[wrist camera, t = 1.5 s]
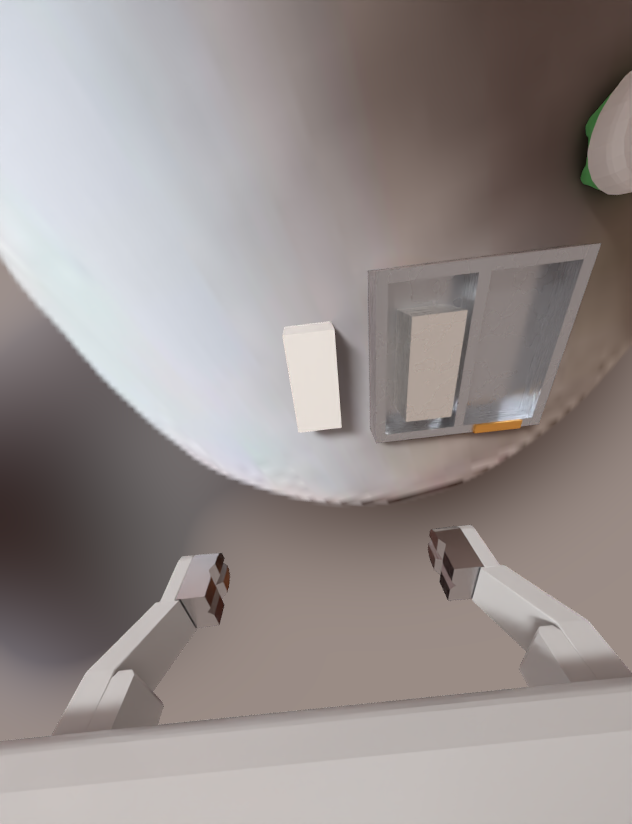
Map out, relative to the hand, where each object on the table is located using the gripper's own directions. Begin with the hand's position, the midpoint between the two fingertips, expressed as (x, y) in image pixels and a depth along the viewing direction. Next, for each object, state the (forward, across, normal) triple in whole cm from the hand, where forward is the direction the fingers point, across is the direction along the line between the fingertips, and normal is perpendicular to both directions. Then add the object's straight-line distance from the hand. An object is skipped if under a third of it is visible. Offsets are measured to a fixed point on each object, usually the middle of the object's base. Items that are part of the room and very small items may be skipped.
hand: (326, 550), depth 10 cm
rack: (+20, -15, -1) cm, 26 cm away
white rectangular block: (+21, 0, 0) cm, 21 cm away
